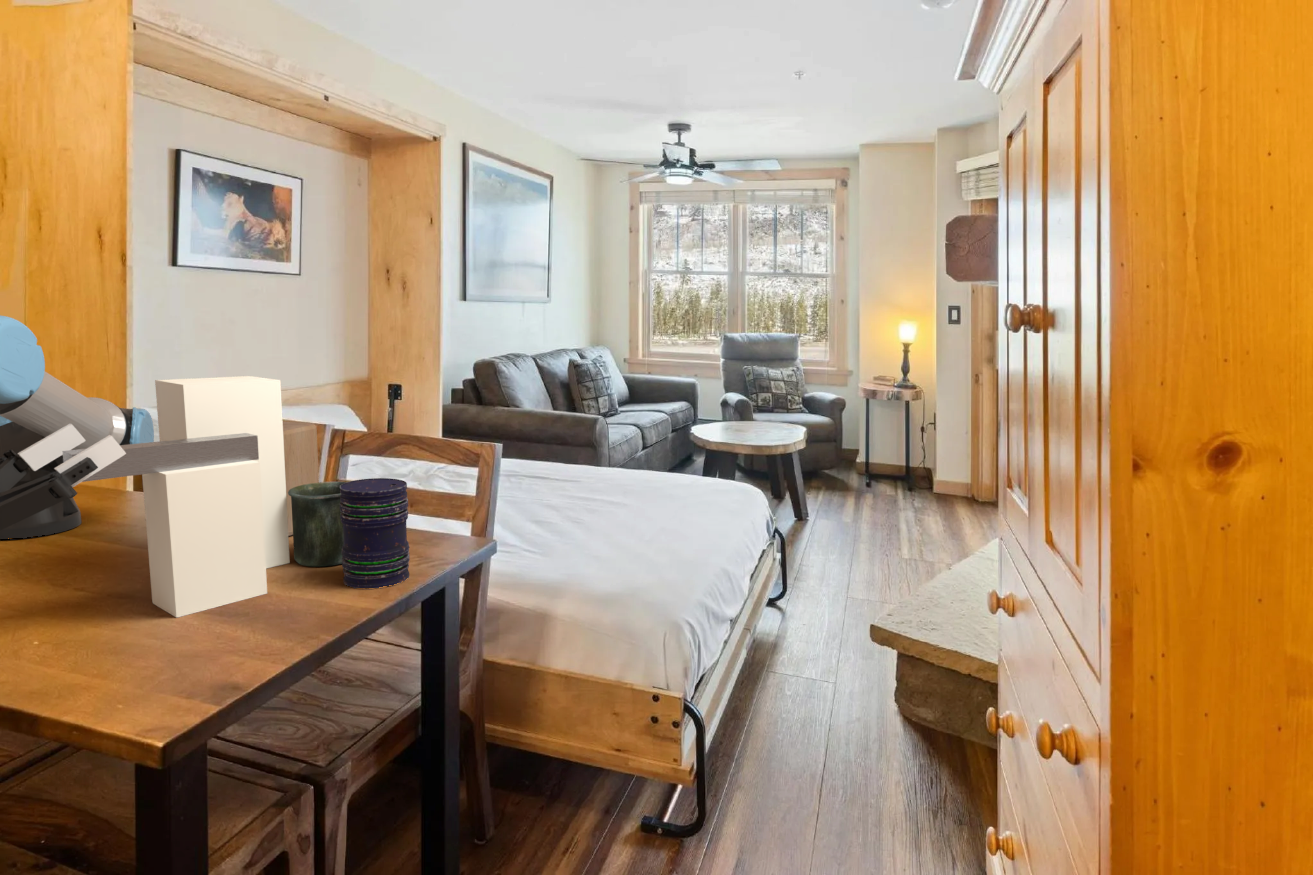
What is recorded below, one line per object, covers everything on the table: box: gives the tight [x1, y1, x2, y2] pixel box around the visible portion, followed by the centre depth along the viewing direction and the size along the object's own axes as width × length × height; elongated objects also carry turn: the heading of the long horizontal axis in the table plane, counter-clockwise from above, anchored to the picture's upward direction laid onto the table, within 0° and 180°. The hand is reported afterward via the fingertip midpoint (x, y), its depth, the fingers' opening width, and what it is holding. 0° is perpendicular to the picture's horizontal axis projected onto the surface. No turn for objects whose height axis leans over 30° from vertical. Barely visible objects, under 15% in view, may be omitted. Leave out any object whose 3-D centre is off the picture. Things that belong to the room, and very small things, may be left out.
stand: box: [154, 375, 291, 569], centre depth 119 cm, size 10×14×30 cm
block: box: [282, 420, 320, 537], centre depth 142 cm, size 10×10×20 cm
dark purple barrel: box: [340, 477, 411, 589], centre depth 117 cm, size 10×10×15 cm
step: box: [141, 460, 268, 619], centre depth 107 cm, size 8×12×20 cm, turn 143°
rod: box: [62, 433, 259, 483], centre depth 102 cm, size 4×22×4 cm, turn 143°
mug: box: [288, 481, 347, 568], centre depth 128 cm, size 11×15×12 cm
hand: (97, 437), depth 95 cm, fingers open, 13 cm apart
